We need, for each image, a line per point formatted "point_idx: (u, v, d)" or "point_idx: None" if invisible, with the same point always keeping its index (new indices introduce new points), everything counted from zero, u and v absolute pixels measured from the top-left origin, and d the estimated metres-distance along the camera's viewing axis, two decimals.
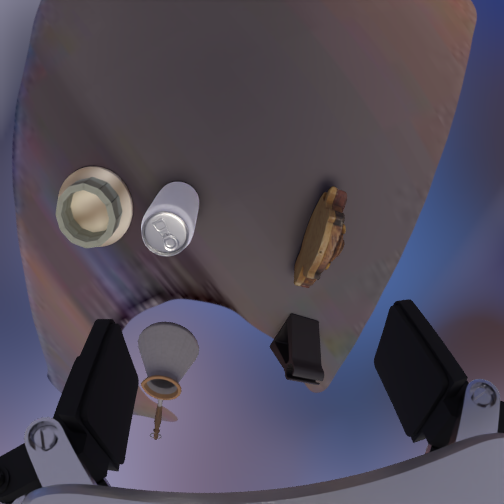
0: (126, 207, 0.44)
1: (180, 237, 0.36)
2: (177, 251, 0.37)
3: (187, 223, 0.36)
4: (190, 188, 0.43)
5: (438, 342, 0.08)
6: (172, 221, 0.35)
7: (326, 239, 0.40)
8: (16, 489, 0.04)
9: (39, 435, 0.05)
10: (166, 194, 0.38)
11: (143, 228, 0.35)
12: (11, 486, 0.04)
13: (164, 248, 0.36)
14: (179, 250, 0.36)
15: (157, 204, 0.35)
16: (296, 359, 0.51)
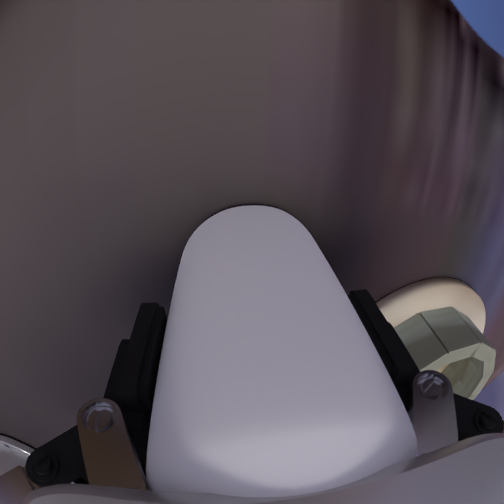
0: None
1: None
2: None
3: None
4: None
5: (388, 331, 0.08)
6: None
7: None
8: (63, 481, 0.05)
9: (93, 416, 0.06)
10: None
11: None
12: (61, 473, 0.05)
13: None
14: None
15: None
16: None
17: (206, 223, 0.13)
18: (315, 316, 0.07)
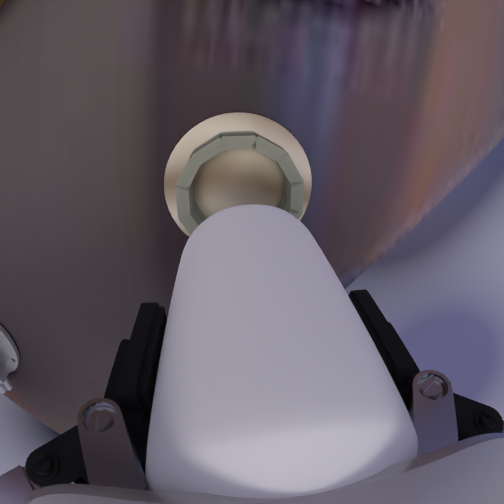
0: (183, 150, 0.25)
1: None
2: None
3: None
4: None
5: (387, 331, 0.08)
6: None
7: None
8: (63, 481, 0.05)
9: (93, 416, 0.06)
10: None
11: None
12: (61, 472, 0.05)
13: None
14: None
15: None
16: None
17: (206, 222, 0.13)
18: (314, 315, 0.07)
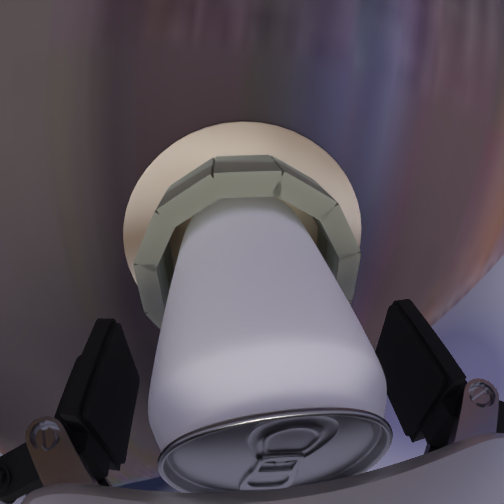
0: (151, 189, 0.15)
1: (225, 439, 0.06)
2: None
3: (158, 442, 0.06)
4: None
5: (437, 342, 0.08)
6: (211, 476, 0.06)
7: None
8: (17, 489, 0.04)
9: (41, 434, 0.05)
10: None
11: None
12: (12, 485, 0.04)
13: (338, 430, 0.06)
14: None
15: None
16: None
17: None
18: (290, 268, 0.08)
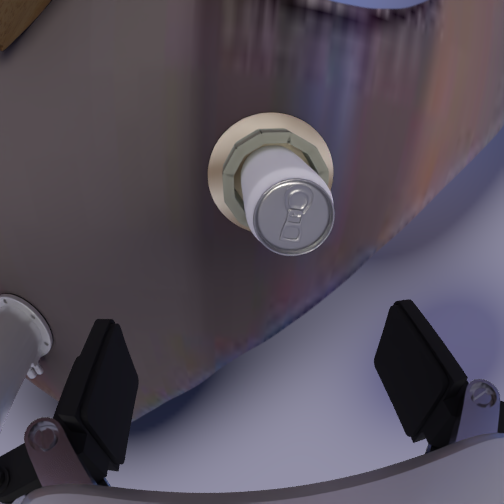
0: (225, 144, 0.30)
1: (277, 197, 0.21)
2: (299, 180, 0.20)
3: (253, 207, 0.21)
4: None
5: (438, 342, 0.08)
6: (270, 227, 0.22)
7: None
8: (16, 489, 0.04)
9: (39, 435, 0.05)
10: None
11: (315, 244, 0.22)
12: (11, 486, 0.04)
13: (313, 197, 0.21)
14: (295, 180, 0.20)
15: None
16: None
17: (253, 152, 0.29)
18: (295, 160, 0.23)
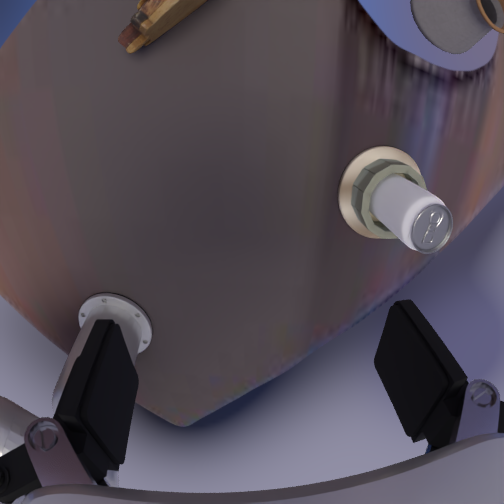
0: (356, 167, 0.37)
1: (426, 215, 0.28)
2: (439, 205, 0.28)
3: (410, 221, 0.29)
4: None
5: (438, 342, 0.08)
6: (418, 234, 0.29)
7: (166, 4, 0.20)
8: (16, 489, 0.04)
9: (39, 435, 0.05)
10: None
11: (439, 246, 0.30)
12: (11, 486, 0.04)
13: (443, 216, 0.28)
14: None
15: (412, 248, 0.32)
16: None
17: None
18: None
